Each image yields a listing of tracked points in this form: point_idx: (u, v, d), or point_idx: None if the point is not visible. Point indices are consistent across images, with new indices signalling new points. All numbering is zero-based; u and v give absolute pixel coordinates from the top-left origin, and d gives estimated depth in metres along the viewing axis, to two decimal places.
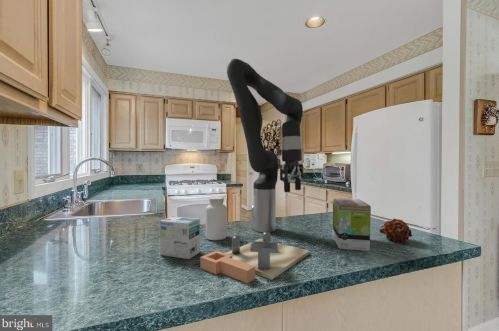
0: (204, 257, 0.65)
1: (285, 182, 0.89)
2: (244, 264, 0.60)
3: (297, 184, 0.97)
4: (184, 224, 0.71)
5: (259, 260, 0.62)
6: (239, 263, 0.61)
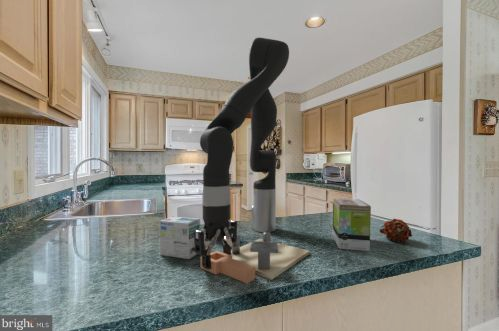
0: None
1: (203, 255, 0.62)
2: (244, 264, 0.60)
3: (226, 251, 0.68)
4: (184, 224, 0.71)
5: (259, 260, 0.62)
6: (239, 263, 0.61)
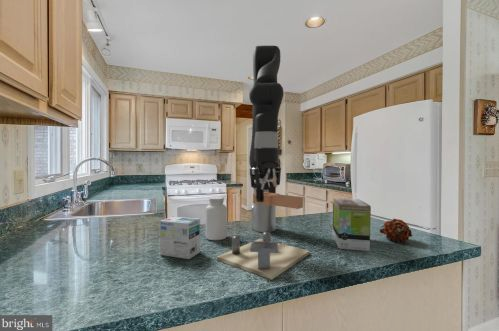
0: None
1: (257, 190, 0.73)
2: (293, 196, 0.72)
3: (271, 192, 0.79)
4: (184, 224, 0.71)
5: (259, 260, 0.62)
6: (288, 196, 0.72)
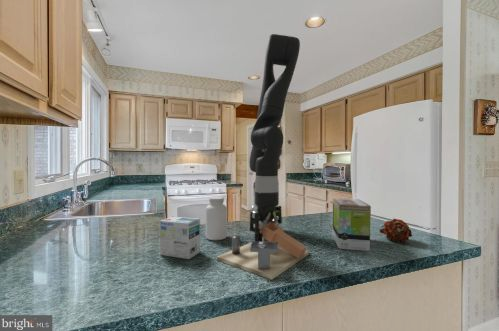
0: None
1: (256, 233, 0.73)
2: (297, 242, 0.71)
3: None
4: (184, 224, 0.71)
5: (259, 260, 0.62)
6: (293, 240, 0.72)
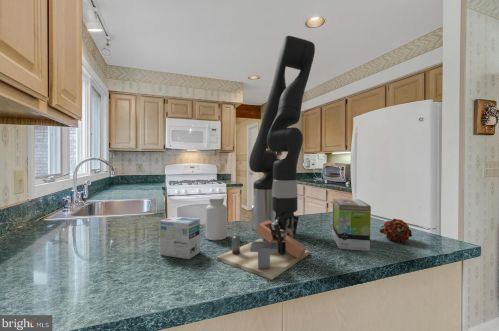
0: (262, 225, 0.75)
1: (279, 242, 0.71)
2: (297, 242, 0.71)
3: None
4: (184, 224, 0.71)
5: (259, 260, 0.62)
6: (293, 240, 0.72)
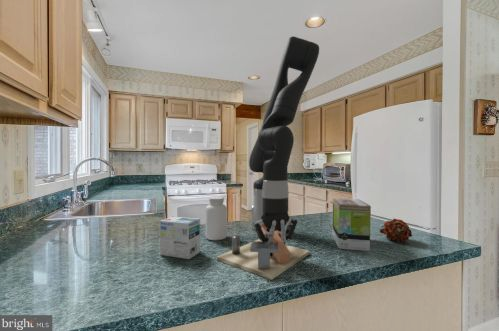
0: None
1: None
2: (283, 246, 0.68)
3: None
4: (184, 224, 0.71)
5: (259, 260, 0.62)
6: (280, 243, 0.69)
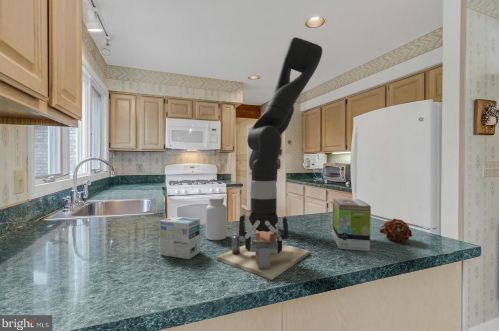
0: None
1: None
2: None
3: None
4: (184, 224, 0.71)
5: (259, 260, 0.62)
6: None
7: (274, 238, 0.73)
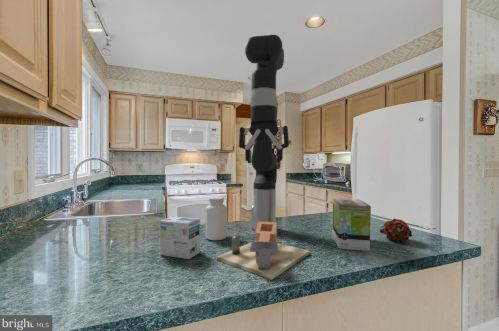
0: (259, 223, 0.77)
1: None
2: None
3: (277, 155, 0.69)
4: (184, 224, 0.71)
5: (259, 260, 0.62)
6: None
7: (274, 238, 0.73)
